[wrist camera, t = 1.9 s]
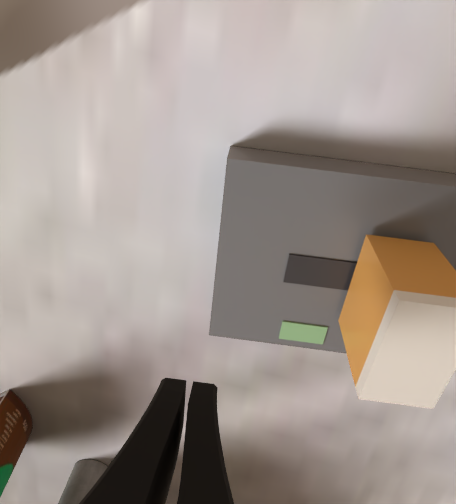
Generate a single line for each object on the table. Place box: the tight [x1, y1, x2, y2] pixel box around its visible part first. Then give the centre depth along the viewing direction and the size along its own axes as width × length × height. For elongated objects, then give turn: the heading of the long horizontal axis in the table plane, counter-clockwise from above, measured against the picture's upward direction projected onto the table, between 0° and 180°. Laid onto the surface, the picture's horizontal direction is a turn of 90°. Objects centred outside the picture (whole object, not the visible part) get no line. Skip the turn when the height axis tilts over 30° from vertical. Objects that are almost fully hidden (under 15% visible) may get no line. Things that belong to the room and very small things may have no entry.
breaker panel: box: [209, 146, 456, 353], centre depth 19 cm, size 16×10×2 cm, turn 84°
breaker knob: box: [338, 234, 456, 409], centre depth 16 cm, size 3×5×5 cm, turn 174°
